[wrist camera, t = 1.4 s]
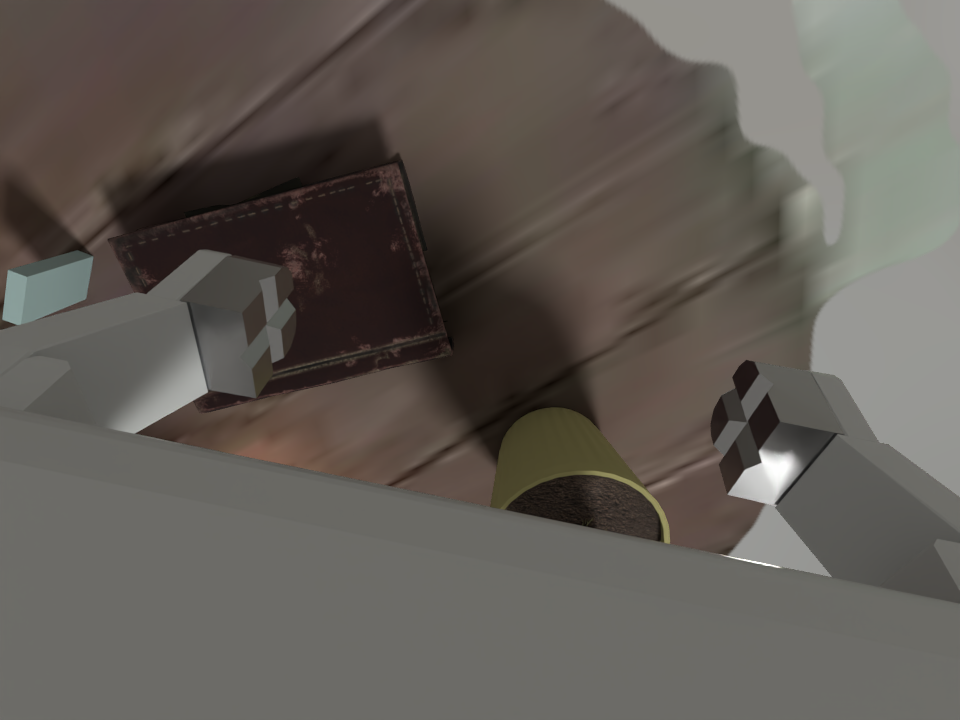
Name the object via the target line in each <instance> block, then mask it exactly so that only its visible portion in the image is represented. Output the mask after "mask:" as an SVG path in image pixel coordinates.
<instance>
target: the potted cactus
mask: <svg viewBox="0 0 960 720" xmlns="http://www.w3.org/2000/svg"><path fill="white" fill-rule="evenodd" d="M490 507H493V508H498V509H503V510H508V511H513V512H517V513H522V514H527V515H532V516H537V517H542V518H547V519H551V520H556V521H561V522H566V523H571V524H576V525H580V526H585V527H590V528H595V529H600V530H605V531H609V532H614V533H619V534H624V535H629V536H634V537H639V538H643V539H648V540H653V541H658V542H663V543H668V544H670V535H669V525H668V522H667V519H666V516H665V513H664V512H663V510H662V508H661V507H660V505H659V504H658V502H657V501H656V499H655V498H654V497H653V496H651V494H650V493H649V491H648V490H647V489H646V488H645V486H644V485H643V484H642V483H641V482H640V480H639V479H638V478H637V477H636V475H635V474H634V473H633V472H632V470H631V469H630V468H629V467H628V466H627V464H626V463H625V462H624V461H623V459H622V458H621V457H620V456H619V454H618V453H617V452H616V451H615V449H614V448H613V447H612V446H611V444H610V443H609V442H608V441H607V439H606V438H605V437H604V436H603V434H602V433H601V432H600V431H599V429H598V428H597V427H596V426H595V425H594V424H593V423H592V422H591V421H590V420H589V419H588V418H586V417H585V416H583V415H582V414H580V413H578V412H575V411H573V410H570V409H565V408H556V407H551V408H543V409H539V410H536V411H533V412H530V413H528V414H526V415H525V416H523V417H521V418H520V419H519V420H517V421H516V422H515V423H514V424H513V425H512V426H511V427H510V428H509V430H508V431H507V433H506V434H505V436H504V438H503V440H502V444H501V448H500V451H499V457H498V463H497V469H496V475H495V481H494V487H493V493H492V499H491V505H490Z"/></svg>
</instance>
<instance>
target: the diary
mask: <svg viewBox="0 0 960 720" xmlns="http://www.w3.org/2000/svg"><path fill="white" fill-rule="evenodd" d="M184 213H185V216H186V218H183V219H179V220H175V221H170V222H166V223H162V224H158V225H154V226H150V227H146V228H142V229H138V230H137V231H136V232H132V233H128V234H124V235H121V236H117V237H113V238H109V239H108V242H109V244H110V246H111V247H112V249H113V251H114V253H115V255H116V257H117V259H118V261H119V263H120V265H121V267H122V269H123V271H124V273H125V275H126V277H127V279H128V281H129V283H130V285H131V287H132V289H133V291H134V293H142V294H147V293H148V292H149V291H151V290H152V289H153V288H154V287H155V286H157V285H158V284H159V283H160V282H161V281H162V280H164V279H165V278H166V277H167V276H168V275H170V274H171V273H172V272H173V271H174V270H176V269H177V268H178V267H179V266H180V265H182V264H183V263H184V262H185V261H186V260H188V259H189V258H190V257H191V256H192V255H193V254H195V253H196V252H197V251H198V250H212V251H217V252H222V253H227V254H231V255H236V256H240V257H245V258H249V259H254V260H258V261H263V262H267V263H272V264H276V265H281V266H285V267H288V269H289V270H290V271H291V272H292V278H293V286H294V289H293V291H292V292H291V293H290V294H289V296H288V297H287V299H288V300H289V302H290V303H291V304H292V305H293V307H294V308H295V309H296V331H295V335H294V339H293V342H292V345H291V348H290V349H289V351H288V352H287V354H286V355H285V357H284V358H282V359H280V360H278V361H276V362H274V363H272V368H273V375H272V376H271V378H270V379H269V381H268V382H267V383H266V385H265V386H264V388H263V389H262V391H261V392H260V394H259V395H258V397H257V398H252V397H246V396H241V395H235V394H229V393H224V392H218V391H212V390H208V392H207V393H206V394H204V395H202V396H200V397H199V398H197V399H195V400H193V401H194V403H195V405H196V407H197V409H198V411H199V413H207V412H212V411H216V410H220V409H224V408H228V407H232V406H236V405H239V404H243V403H247V402H251V401H255V400H259V399H263V398H267V397H271V396H275V395H280V394H284V393H289V392H294V391H298V390H303V389H308V388H312V387H317V386H322V385H326V384H331V383H335V382H339V381H343V380H347V379H351V378H355V377H359V376H363V375H366V374H370V373H374V372H378V371H382V370H386V369H390V368H394V367H399V366H404V365H409V364H414V363H418V362H423V361H428V360H433V359H438V358H443V357H446V356H451V355H452V354H453V350H454V342H453V338H452V337H449V338H448V337H447V333H446V330H445V326H444V323H443V319H442V316H441V312H440V309H439V305H438V302H437V299H436V295H435V292H434V289H433V285H432V282H431V278H430V275H429V272H428V268H427V265H426V261H425V258H424V254H423V251H425V250H427V247H426V243H425V240H424V236H423V232H422V229H421V225H420V221H419V218H418V214H417V210H416V206H415V201H414V198H413V194H412V191H411V188H410V184H409V181H408V177H407V174H406V170H405V167H404V164H403V161H402V160H399V161H395V162H392V163H388V164H384V165H380V166H376V167H372V168H369V169H365V170H361V171H357V172H353V173H349V174H346V175H342V176H338V177H334V178H330V179H327V180H323V181H319V182H315V183H312V184H308V185H304V186H302V184H301V182H300V179H299V177H297V178H295V179H293V180H290V181H288V182H286V183H283V184H281V185H279V186H276V187H274V188H272V189H269V190H267V191H265V192H263V193H260V194H258V195H256V196H253V197H251V198H249V199H247V200H244V201H242V202H240V203H237V204H233V205H216V206H211V207H207V208H202V209H197V210H193V211H188V212H184ZM444 322H446V321H444Z"/></svg>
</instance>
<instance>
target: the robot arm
mask: <svg viewBox="0 0 960 720" xmlns="http://www.w3.org/2000/svg"><path fill="white" fill-rule="evenodd" d="M293 289H294V286H293V278H292V272H291V271H290V270H289V269H288V267H285V266H281V265H276V264H272V263H267V262H263V261H258V260H254V259H249V258H245V257H240V256H236V255H231V254H227V253H222V252H217V251H212V250H198V251H197V252H196V253H195V254H193V255H192V256H191V257H190V258H189V259H188V260H186V261H185V262H184V263H183V264H182V265H180V266H179V267H178V268H177V269H176V270H174V271H173V272H172V273H171V274H170V275H168V276H167V277H166V278H165V279H164V280H162V281H161V282H160V283H159V284H158V285H157V286H155V287H154V288H153V289H152V290H151V291H149V292H148V293H147V294H142V293H133V294H130V295H126V296H122V297H119V298H115V299H111V300H108V301H104V302H101V303H97V304H93V305H90V306H86V307H82V308H79V309H75V310H72V311H68V312H64V313H61V314H57V315H53V316H50V317H46V318H43V319H39V320H35V321H32V322H28V323H24V324H21V325H17V326H13V327H10V328H6V329H3V330H0V720H960V497H959V496H957V495H956V494H955V493H953V492H952V491H951V490H949V489H948V488H947V487H945V486H944V485H942V484H941V483H940V482H938V481H937V480H936V479H934V478H933V477H931V476H930V475H929V474H928V473H926V472H925V471H923V470H922V469H921V468H919V467H918V466H917V465H915V464H914V463H913V462H911V461H910V460H909V459H907V458H906V457H905V456H903V455H902V454H901V453H899V452H898V451H897V450H895V449H894V448H893V447H891V446H890V445H888V444H884V443H879V442H878V440H877V438H876V437H875V435H874V433H873V432H872V430H871V428H870V427H869V425H868V423H867V422H866V420H865V419H864V417H863V415H862V413H861V412H860V410H859V408H858V407H857V405H856V403H855V402H854V400H853V399H852V397H851V395H850V393H849V392H848V390H847V389H846V387H845V386H844V384H843V382H842V381H841V380H840V379H839V378H837V377H836V376H834V375H830V374H823V373H818V372H812V371H806V370H798V369H793V368H787V367H782V366H776V365H771V364H765V363H760V362H754V361H748V360H746V361H745V362H744V363H742V364H741V365H740V366H739V367H738V369H737V371H736V372H735V374H734V375H733V377H732V378H733V381H734V385H735V389H733V390H731V391H729V392H727V393H725V394H723V395H721V397H720V399H719V401H718V403H717V404H716V406H715V408H714V411H713V415H712V420H711V437H712V441H713V445H714V446H715V447H716V448H717V449H718V450H719V451H720V452H721V453H722V454H723V455H724V457H723V459H722V460H721V462H720V463H719V467H720V470H721V474H722V477H723V481H724V484H725V488H726V491H727V495H732V496H736V497H740V498H745V499H749V500H753V501H758V502H762V503H766V504H771V505H776V509H777V510H778V512H779V513H780V514H781V515H782V516H783V518H784V519H785V520H786V521H787V522H788V524H789V525H790V526H791V527H792V528H793V530H794V531H795V532H796V533H797V535H798V536H799V537H800V538H801V539H802V541H803V542H804V543H805V544H806V546H807V547H808V548H809V549H810V550H811V552H812V553H813V554H814V555H815V556H816V558H817V559H818V560H819V561H820V563H821V564H822V565H823V566H824V567H825V569H826V570H827V571H828V572H829V574H830V575H831V576H832V577H828V576H823V575H818V574H813V573H809V572H804V571H799V570H794V569H789V568H784V567H779V566H775V565H770V564H765V563H760V562H755V561H750V560H745V559H741V558H736V557H731V556H726V555H721V554H716V553H711V552H707V551H702V550H697V549H692V548H687V547H682V546H677V545H673V544H668V543H663V542H658V541H653V540H648V539H643V538H639V537H634V536H629V535H624V534H619V533H614V532H609V531H605V530H600V529H595V528H590V527H585V526H580V525H576V524H571V523H566V522H561V521H556V520H551V519H547V518H542V517H537V516H532V515H527V514H522V513H517V512H513V511H508V510H503V509H498V508H493V507H488V506H484V505H479V504H474V503H469V502H464V501H459V500H455V499H450V498H445V497H440V496H435V495H430V494H426V493H421V492H416V491H411V490H406V489H401V488H396V487H391V486H386V485H381V484H377V483H372V482H367V481H362V480H357V479H352V478H347V477H342V476H337V475H332V474H327V473H322V472H318V471H313V470H308V469H303V468H298V467H293V466H288V465H283V464H278V463H273V462H268V461H263V460H259V459H254V458H249V457H244V456H239V455H234V454H229V453H224V452H220V451H215V450H210V449H205V448H201V447H196V446H191V445H186V444H181V443H177V442H172V441H167V440H162V439H158V438H153V437H148V436H143V435H138V434H135V433H137V432H138V431H140V430H142V429H144V428H145V427H147V426H149V425H151V424H152V423H154V422H156V421H158V420H160V419H161V418H163V417H165V416H167V415H168V414H170V413H172V412H174V411H176V410H177V409H179V408H181V407H183V406H184V405H186V404H188V403H190V402H191V401H193V400H195V399H197V398H199V397H200V396H202V395H204V394H206V393H207V392H208V390H212V391H218V392H224V393H229V394H235V395H241V396H246V397H252V398H257V397H258V395H259V394H260V392H261V391H262V389H263V388H264V386H265V385H266V383H267V382H268V381H269V379H270V378H271V376H272V375H273V368H272V363H274V362H276V361H278V360H280V359H282V358H284V357H285V355H286V354H287V352H288V351H289V349H290V348H291V345H292V342H293V339H294V335H295V331H296V309H295V308H294V307H293V305H292V304H291V303H290V302H289V300H288V299H287V297H288V296H289V294H290V293H291V292H292V291H293Z"/></svg>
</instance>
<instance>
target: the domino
mask: <svg viewBox="0 0 960 720" xmlns="http://www.w3.org/2000/svg"><path fill="white" fill-rule="evenodd" d="M92 262H93V256H91V255H89V254H86V253H83V252H81V251H78V250H77V251H73V252H70V253H66V254H63V255H59V256H55V257H52V258H48V259H45V260H41V261H38V262H34V263H31V264H27V265H24V266H20V267H17V268H13V269H10V270H8V275H7V284H6V292H5V301H4V310H3V318H2V320H5V321H8V322H11V323H14V324H16V325H21V324H24V323H28V322H32V321H34V320H37V319H39V318H41V317H44V316H46V315H49V314H51V313H53V312H56V311H58V310H61V309H63V308H65V307H68V306H70V305H73V304H75V303H77V302H80V301H82V300H85V299H86V296H87V291H88V285H89V279H90V273H91V268H92Z"/></svg>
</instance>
